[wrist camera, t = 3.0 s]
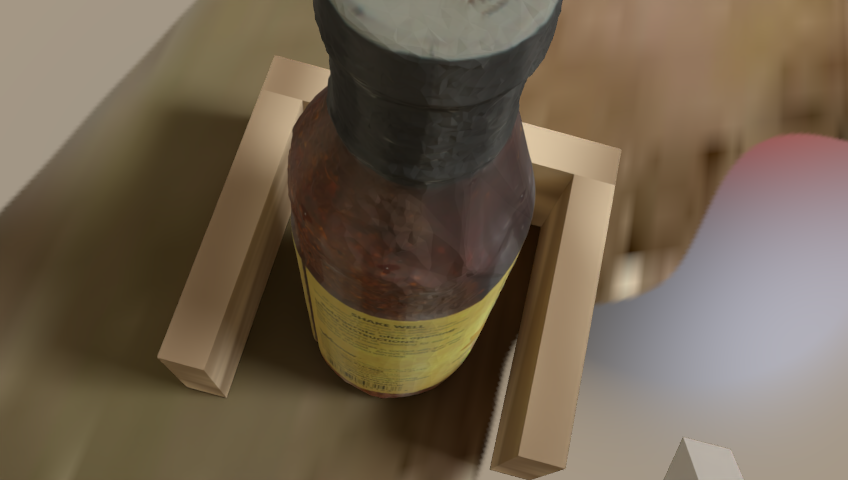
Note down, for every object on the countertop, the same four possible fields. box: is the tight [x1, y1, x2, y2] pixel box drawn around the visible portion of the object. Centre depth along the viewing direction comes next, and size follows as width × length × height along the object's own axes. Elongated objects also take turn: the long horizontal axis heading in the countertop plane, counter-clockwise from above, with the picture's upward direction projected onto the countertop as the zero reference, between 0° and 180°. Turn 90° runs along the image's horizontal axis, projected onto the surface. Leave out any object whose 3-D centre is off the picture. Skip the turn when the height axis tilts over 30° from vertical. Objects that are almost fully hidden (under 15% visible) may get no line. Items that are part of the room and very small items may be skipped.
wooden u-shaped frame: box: [157, 55, 621, 480], centre depth 28 cm, size 13×12×5 cm
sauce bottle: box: [287, 0, 563, 398], centre depth 21 cm, size 6×6×20 cm
